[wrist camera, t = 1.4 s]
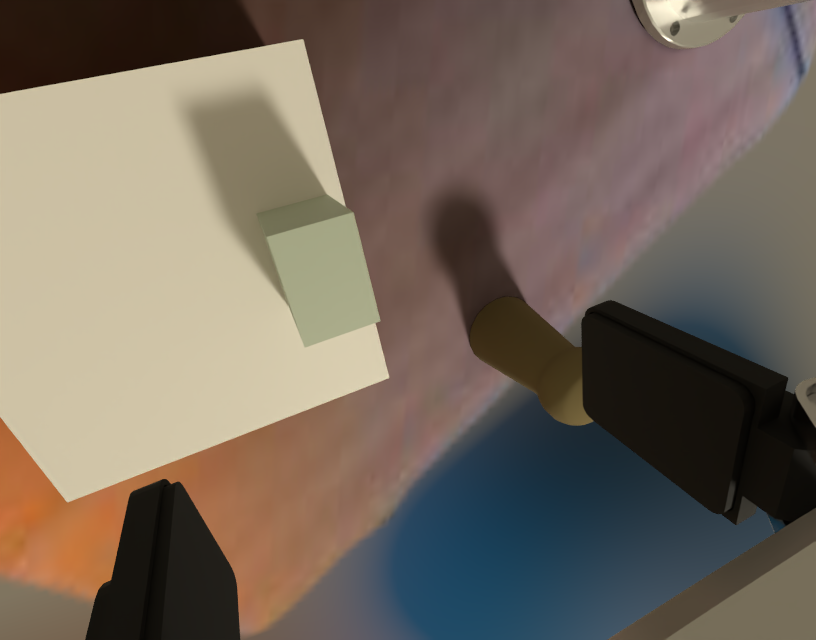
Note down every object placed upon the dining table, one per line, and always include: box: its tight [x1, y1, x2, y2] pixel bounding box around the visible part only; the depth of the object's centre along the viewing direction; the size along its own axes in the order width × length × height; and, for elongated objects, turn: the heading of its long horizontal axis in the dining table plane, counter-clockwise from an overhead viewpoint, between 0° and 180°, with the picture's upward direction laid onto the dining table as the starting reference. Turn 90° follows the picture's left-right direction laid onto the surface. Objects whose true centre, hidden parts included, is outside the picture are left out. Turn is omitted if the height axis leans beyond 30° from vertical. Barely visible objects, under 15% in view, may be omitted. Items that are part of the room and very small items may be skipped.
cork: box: [470, 297, 593, 425], centre depth 33 cm, size 6×6×11 cm
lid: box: [0, 39, 389, 502], centre depth 20 cm, size 18×18×6 cm
